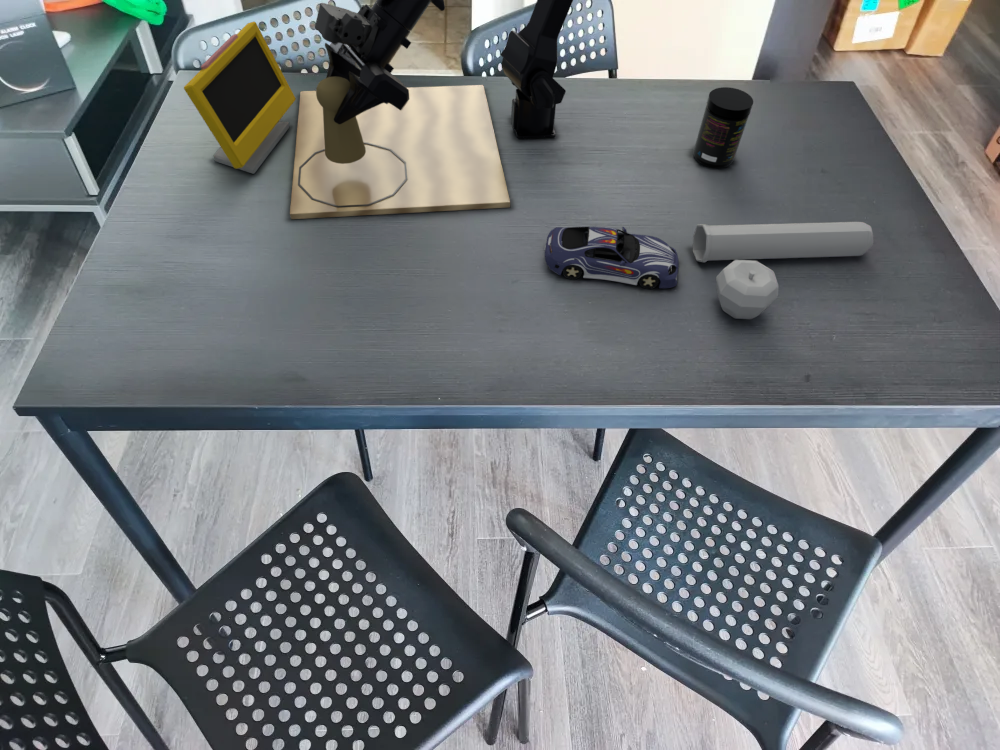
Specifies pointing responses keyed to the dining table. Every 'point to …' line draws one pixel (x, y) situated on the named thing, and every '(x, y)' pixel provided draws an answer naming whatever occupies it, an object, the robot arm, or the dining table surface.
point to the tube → (781, 240)
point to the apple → (746, 288)
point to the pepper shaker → (339, 138)
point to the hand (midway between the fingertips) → (329, 113)
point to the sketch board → (403, 158)
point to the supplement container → (722, 127)
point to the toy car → (611, 256)
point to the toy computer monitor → (242, 99)
